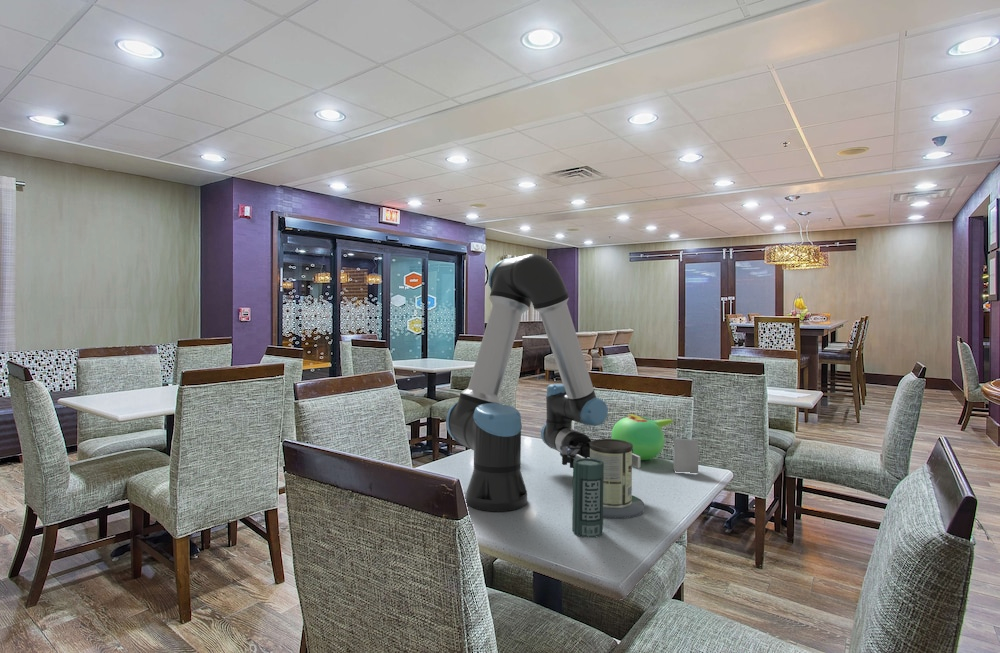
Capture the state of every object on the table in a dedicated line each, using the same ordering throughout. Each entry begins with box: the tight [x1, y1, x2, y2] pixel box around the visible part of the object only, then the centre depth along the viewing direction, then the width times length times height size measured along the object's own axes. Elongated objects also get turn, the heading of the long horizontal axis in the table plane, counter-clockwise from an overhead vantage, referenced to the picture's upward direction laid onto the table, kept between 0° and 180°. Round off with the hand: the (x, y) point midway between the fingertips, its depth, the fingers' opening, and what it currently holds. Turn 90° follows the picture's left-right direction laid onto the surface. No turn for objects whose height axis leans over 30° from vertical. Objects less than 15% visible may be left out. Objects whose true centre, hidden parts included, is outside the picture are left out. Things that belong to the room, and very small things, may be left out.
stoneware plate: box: [603, 495, 645, 520], centre depth 130 cm, size 16×16×1 cm
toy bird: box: [610, 413, 674, 461], centre depth 175 cm, size 18×17×15 cm
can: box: [571, 457, 604, 539], centre depth 114 cm, size 6×6×15 cm
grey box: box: [672, 438, 699, 474], centre depth 159 cm, size 4×7×10 cm, turn 75°
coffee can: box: [589, 438, 633, 508], centre depth 130 cm, size 10×10×14 cm
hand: (614, 464), depth 128 cm, fingers open, 13 cm apart
